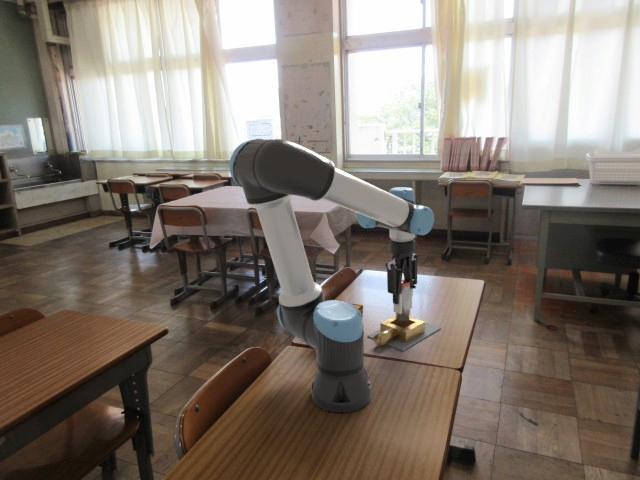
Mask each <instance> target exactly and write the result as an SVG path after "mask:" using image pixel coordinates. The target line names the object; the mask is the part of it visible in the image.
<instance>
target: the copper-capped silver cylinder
mask: <svg viewBox="0 0 640 480" xmlns="http://www.w3.org/2000/svg"><path fill="white" fill-rule="evenodd" d="M400 293H401V294H402V314H399V313H396V312H395V315H396V319H397V320H400V321H406V320H409V319H410V317H411V309H410V281H408V280H404V279H402V281H401V289H400Z"/></svg>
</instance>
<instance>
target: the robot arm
mask: <svg viewBox="0 0 640 480" xmlns="http://www.w3.org/2000/svg"><path fill="white" fill-rule="evenodd" d="M229 173H230V176H231V178H232V180H233V181H234V183H236V184H237V185H238V186H239V187H241V188H242V190H243V194H244V196H245V200H246V203H247V204H248V205H249V206H250V207H253V208H255V210H256V213H257V215H258V218H259V219H258V220H259V222H260V225H261V228H262V232H263V234H264V238H265V242H266V244H267V247H268V250H269V254H270V258H271V260H272V263H273V266H274V270H275V273H276V277H277V279H278V283H279V286H280V289H281V292H280V294H279V295H278V303H279V305H278V307H277V308H276V309H277V311H276V313H277V314H276V315H277V319H278V322H279V324H280V326H281V327H282V328H283V329H284V330H285V332H287V333H288V334H290V335H291V336H294V337H295V338H297V339H298V340H300V341H302V342H303V343H306V344H307V345H308V346H310V347H311V348H313V349H314V350H315V356H316V357H315V358H316V370H315V373H314V377H313V381H312V383H311V389H310V390H311V399H312V400H311V401H312V402H313V403H314V404H315V406H317V407H318V408H319V407H320V408H319V409H321V408H322V409H321V410H323V409H325V410H324V411H326V410H328V411H327V412H329V411H332V412H331V413H335V412H343V413H342V414H344V413H346V412H347V413H351V412H356V411H359V410H361V409H363V408H364V407H366V406H367V405H368V404H369V403H370V401H371V400H372V395H373V393H372V383H371V381H370V379H369V377H368V374H367V371H366V368H365V363H364V357H365V355H364V334H363V331H364V328H365V327H364V322H363V317H362V315H361V312H360V310H359V309H358V308H357V307H356V306H354V305H353V304H354V303H351V302H349V301H345V300H342V301H341V300H339V299H329V300H326V299H325V296H324V293H323V288H322V286H321V284H319V283H318V282H315V281H314V278H313V276H312V271H311V268H310V265H309V259H308V256H307V254H306V250H305V247H304V243H303V239H302V236H301V232H300V229H299V225H298V222H297V218H296V214H295V211H294V208H293V203H292V200H291V197H292V196H296V197H297V196H298V197H302V198H305V199H308V200H311V201H313V202H314V201H315V202H316V201H317V202H318V201H320V200H324V201H326V202H328V203H332V204H334V205H336V206H339V207H341V208H343V209H346V210H350V211H352V212H354V213H356V221H357V222H358V224H359V225H360V226H361V227H362V228H364V229H373V228H375V227H380V228H384V229H389V238H390V239H389V251H390V252H391V253H392V256H391V260H390V262H385V267H386V275H387V276H386V277H387V279H386V281H387V284H386V285H387V293H389V294H391V295H392V304H393V313H395V314H396V313H399V314H402V294H401V293H400V289H401V281H402V280H408V281H410V310H411V309H413V295H414V294H413V292H414V289H416V288H417V285H418V261H419V254H417V253H414V252H415V251H416V240H415V237H416V235H419V236H425V235H427V234H428V233H430V232H431V230H432V229H433V226H434V223H435V215H434V212H433V210H432V209H431V208H430V207H429V206H424V205H422V204H416V196H415V190H414V188H412V187H406V186H399V187H392V188H390V189H389V191H386V190H384V189H381V188H380V187H377V186H375V185H374V184H371V183H369V182H367V181H365V180H363V179H360V178H359V177H357V176H354V175H352V174H351V173H348V172H346V171H344V170H341V169H339V168H338V167H336V165H335V164H334V162H333V161H332V160H331V159H330V158H328V157H325V156H323V155H321V154H319V153H317V152H315V151H313V150H311V149H309V148H307V147H305V146H303V145H301V144H298V143H297V142H294V141H291V140H288V139H283V138H276V139H262V138H255V139H251V140H246V141H244V142H242V143H240V144H239V145H238V146H237V147H236V148H235V149H234V150H233V152H232V155H231V156H230V159H229Z"/></svg>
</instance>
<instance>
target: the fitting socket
mask: <svg viewBox="0 0 640 480" xmlns="http://www.w3.org/2000/svg"><path fill="white" fill-rule="evenodd" d="M425 323H426V321H424V320H421V319H417V318H415V317H411V316H410V319H409V320H406V321H400V320H397V319H396V314H395V315H393V316H392V317H389V318H387V319H386V320H383V321H380V323H379V324H380V327H379V330H380V333H379V334H377V335H375V336H374V339H373V342H374V344H375V345H376V346H377V347H383V346H384V345H386V343H388V342H390V341H391V340H393V339H396V340H399V341H401V342H404V343H407V342H409V341H411V340H412V339H414V338H416V337H417V336H419V335H421V334H423V333H424V332H425ZM402 327H403V328H402Z"/></svg>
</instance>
